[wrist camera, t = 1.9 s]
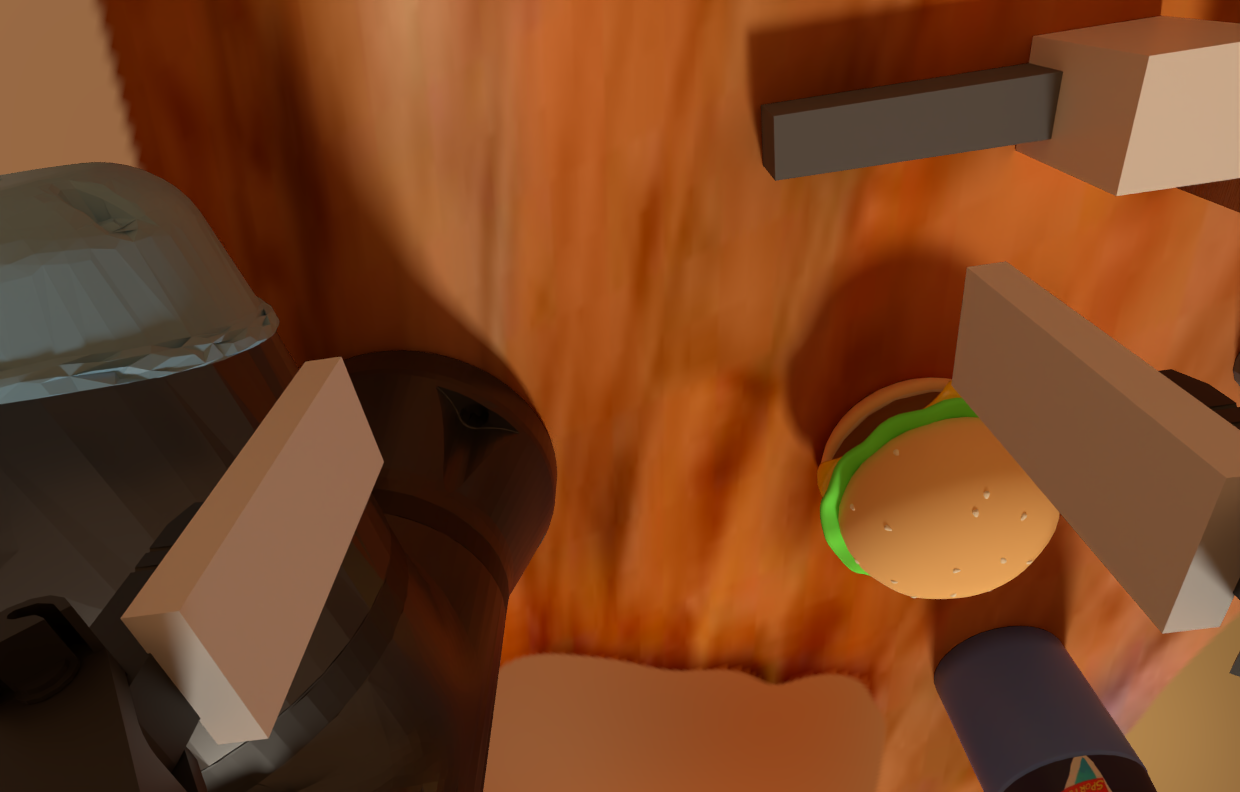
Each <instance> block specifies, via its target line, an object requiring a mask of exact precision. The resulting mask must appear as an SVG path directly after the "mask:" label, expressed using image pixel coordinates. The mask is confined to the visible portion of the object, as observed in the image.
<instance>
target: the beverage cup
mask: <svg viewBox="0 0 1240 792" xmlns="http://www.w3.org/2000/svg"><path fill="white" fill-rule="evenodd" d="M1233 373H1234V378H1235V381H1236V382H1237V383H1238V384H1239V386H1240V353H1239V355H1238V356H1237V358H1236V361H1235V365H1234V369H1233Z"/></svg>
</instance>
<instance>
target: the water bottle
mask: <svg viewBox="0 0 1240 792" xmlns="http://www.w3.org/2000/svg"><path fill="white" fill-rule="evenodd" d="M934 684H935V687H936V689H937V692H938V694H939V696H940V698H941V700H942V702H943V705H944V707H945V709H946V711H947V713H948V715H949V717H950V720H951V722H952V724H953V726H954V728H955V730H956V733H957V735H958V737H959V739H960V741H961V743H962V746H963V748H964V750H965V752H966V754H967V756H968V758H969V761H970V763H971V765H972V767H973V769H974V771H975V773H976V776H977V778H978V780H979V782H980V784H981V786H982V788H983V790H984V792H1157V791H1156V789H1155V787H1154V785H1153V783H1152V781H1151V779H1150V777H1149V775H1148V773H1147V770H1146V768H1145V766H1144V765H1143V763H1142V762H1141V760H1140V759H1139V757H1138V756H1137V754H1136V753H1135V751H1134V750H1133V748H1132V747H1131V745H1130V744H1129V742H1128V741H1127V739H1126V738H1125V736H1124V735H1123V733H1122V732H1121V730H1120V729H1119V727H1118V726H1117V724H1116V723H1115V721H1114V720H1113V718H1112V717H1111V715H1110V714H1109V712H1108V711H1107V709H1106V708H1105V706H1104V705H1103V704H1102V702H1101V701H1100V699H1099V698H1098V696H1097V695H1096V693H1095V692H1094V690H1093V689H1092V687H1091V686H1090V684H1089V683H1088V681H1087V680H1086V678H1085V677H1084V676H1083V674H1082V673H1081V671H1080V670H1079V668H1078V667H1077V665H1076V664H1075V662H1074V661H1073V659H1072V658H1071V656H1070V655H1069V653H1068V652H1067V651H1066V649H1065V648H1064V646H1063V645H1062V643H1061V642H1060V640H1059V639H1058V638H1057V637H1056V636H1054V635H1053V634H1052V633H1050V632H1048V631H1045V630H1043V629H1039V628H1035V627H1028V626H1011V627H1003V628H997V629H993V630H990V631H986V632H983V633H980V634H978V635H975V636H973V637H971V638H969V639H967V640H965V641H964V642H962V643H960V644H958V645H957V646H956V647H954V648H953V649H952V650H951V651H949V652H948V653H947V654H946V656H945V657H944V658H943V659H942V660H941V661H940V663H939V665H938V667H937V668H936V672H935V675H934Z"/></svg>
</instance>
